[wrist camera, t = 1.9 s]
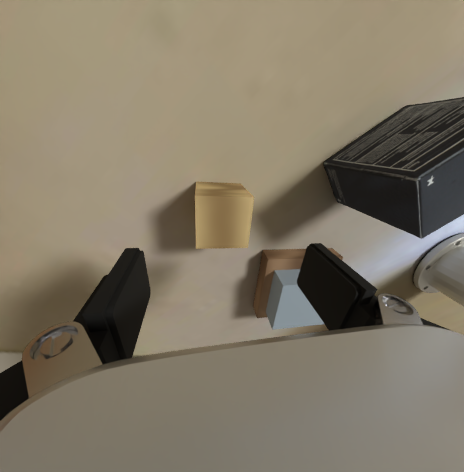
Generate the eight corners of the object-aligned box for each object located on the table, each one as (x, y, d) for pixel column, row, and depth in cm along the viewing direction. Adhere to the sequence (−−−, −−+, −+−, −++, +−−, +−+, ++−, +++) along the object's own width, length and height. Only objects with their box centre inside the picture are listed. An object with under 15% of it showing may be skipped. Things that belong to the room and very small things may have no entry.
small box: (336, 205, 24) (420, 244, 15) (320, 162, 21) (414, 177, 12) (412, 156, 23) (558, 166, 13) (407, 102, 20) (590, 68, 10)
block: (240, 183, 21) (254, 197, 16) (236, 223, 23) (247, 247, 18) (196, 181, 20) (194, 195, 15) (196, 223, 22) (195, 248, 17)
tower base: (329, 246, 28) (343, 257, 25) (310, 298, 33) (320, 312, 30) (261, 247, 26) (268, 259, 23) (252, 303, 31) (256, 317, 28)
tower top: (327, 267, 26) (342, 282, 23) (312, 307, 29) (323, 324, 27) (274, 270, 24) (283, 285, 22) (265, 311, 28) (272, 329, 25)
